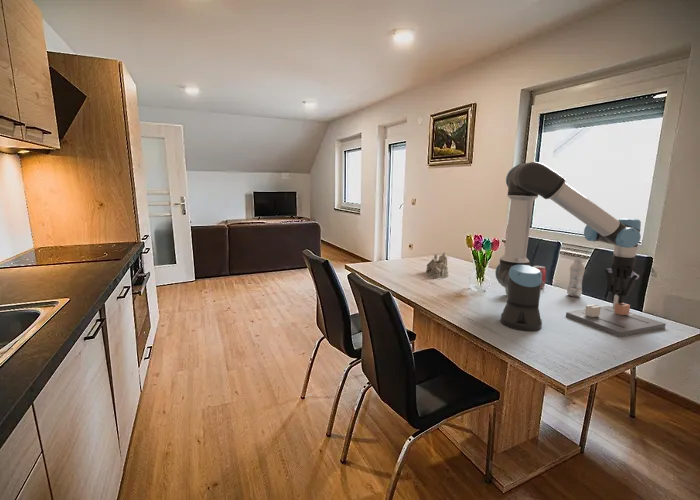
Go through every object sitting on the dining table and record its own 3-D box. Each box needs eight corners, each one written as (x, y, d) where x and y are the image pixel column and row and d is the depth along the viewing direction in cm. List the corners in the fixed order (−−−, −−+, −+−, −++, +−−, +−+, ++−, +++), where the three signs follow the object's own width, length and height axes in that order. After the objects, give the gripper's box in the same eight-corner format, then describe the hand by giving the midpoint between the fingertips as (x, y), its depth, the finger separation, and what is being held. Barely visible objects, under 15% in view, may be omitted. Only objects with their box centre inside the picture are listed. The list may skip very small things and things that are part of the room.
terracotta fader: (621, 315, 144) (623, 305, 143) (614, 312, 146) (615, 303, 146) (628, 313, 145) (630, 304, 144) (621, 311, 148) (622, 302, 147)
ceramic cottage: (431, 270, 230) (432, 248, 226) (453, 276, 218) (454, 253, 214) (417, 276, 220) (418, 253, 216) (439, 282, 208) (440, 258, 204)
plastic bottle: (575, 294, 180) (580, 256, 177) (584, 298, 173) (589, 259, 170) (563, 294, 180) (567, 256, 176) (572, 298, 173) (576, 259, 170)
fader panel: (619, 337, 128) (620, 331, 128) (565, 316, 148) (566, 311, 148) (664, 328, 136) (665, 323, 136) (608, 309, 157) (608, 305, 156)
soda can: (531, 285, 197) (533, 264, 195) (545, 287, 192) (547, 266, 190) (528, 287, 191) (530, 266, 189) (543, 290, 187) (545, 268, 185)
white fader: (591, 317, 141) (593, 307, 141) (584, 314, 144) (586, 305, 144) (599, 315, 143) (600, 306, 142) (592, 313, 146) (593, 304, 145)
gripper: (648, 258, 139) (639, 313, 143) (614, 252, 151) (606, 303, 155) (635, 259, 136) (626, 315, 140) (602, 253, 148) (595, 305, 152)
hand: (616, 309), depth 148 cm, fingers closed
